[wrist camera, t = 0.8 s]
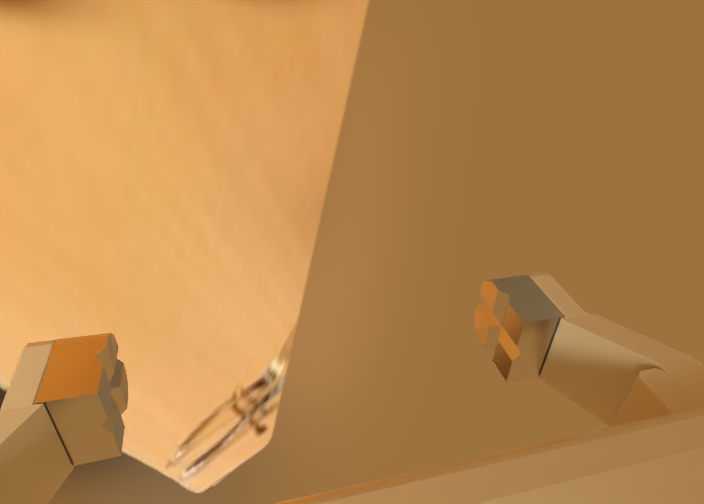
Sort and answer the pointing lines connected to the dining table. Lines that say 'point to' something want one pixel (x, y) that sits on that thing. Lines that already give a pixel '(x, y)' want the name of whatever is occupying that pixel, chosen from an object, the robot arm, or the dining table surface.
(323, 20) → the dining table surface
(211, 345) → the dining table surface
